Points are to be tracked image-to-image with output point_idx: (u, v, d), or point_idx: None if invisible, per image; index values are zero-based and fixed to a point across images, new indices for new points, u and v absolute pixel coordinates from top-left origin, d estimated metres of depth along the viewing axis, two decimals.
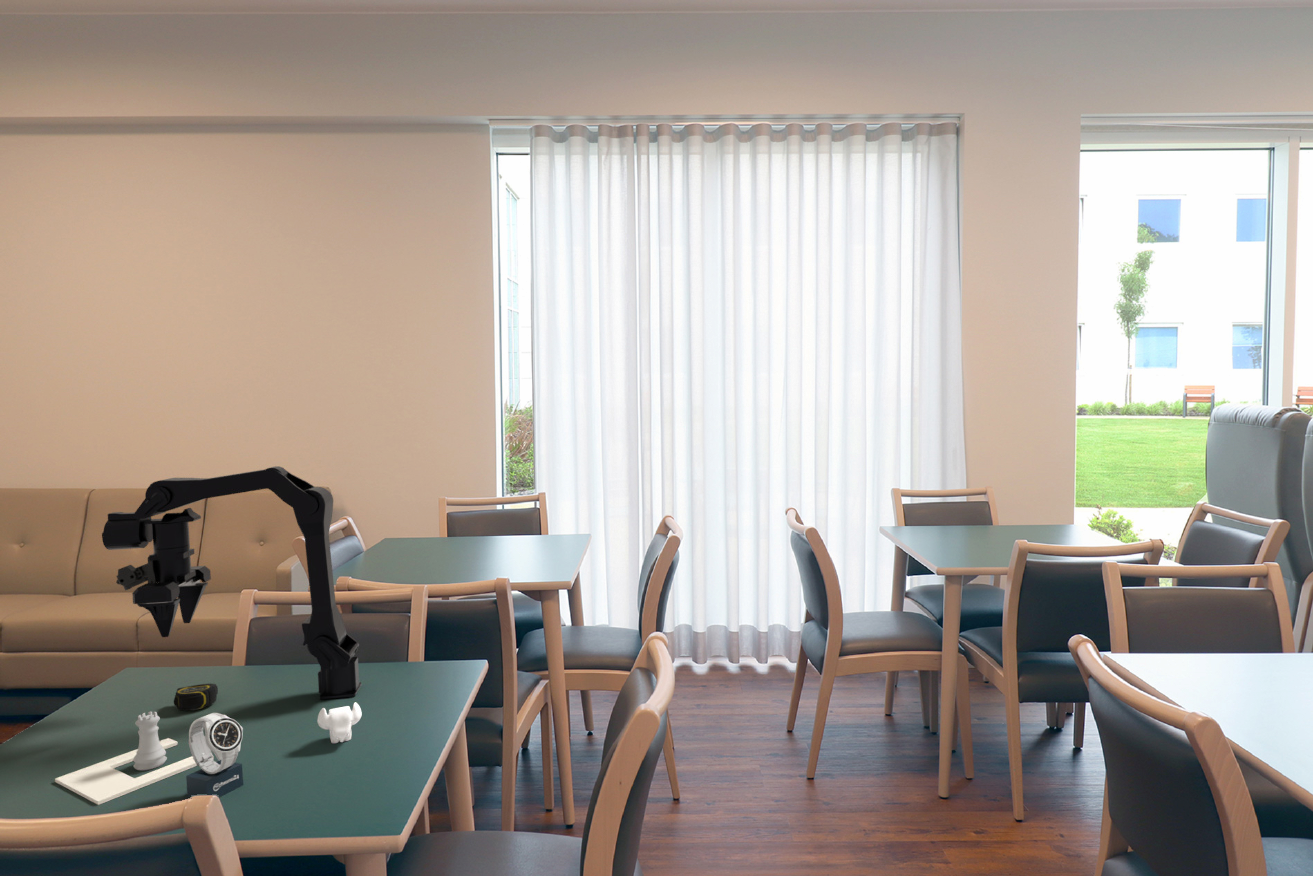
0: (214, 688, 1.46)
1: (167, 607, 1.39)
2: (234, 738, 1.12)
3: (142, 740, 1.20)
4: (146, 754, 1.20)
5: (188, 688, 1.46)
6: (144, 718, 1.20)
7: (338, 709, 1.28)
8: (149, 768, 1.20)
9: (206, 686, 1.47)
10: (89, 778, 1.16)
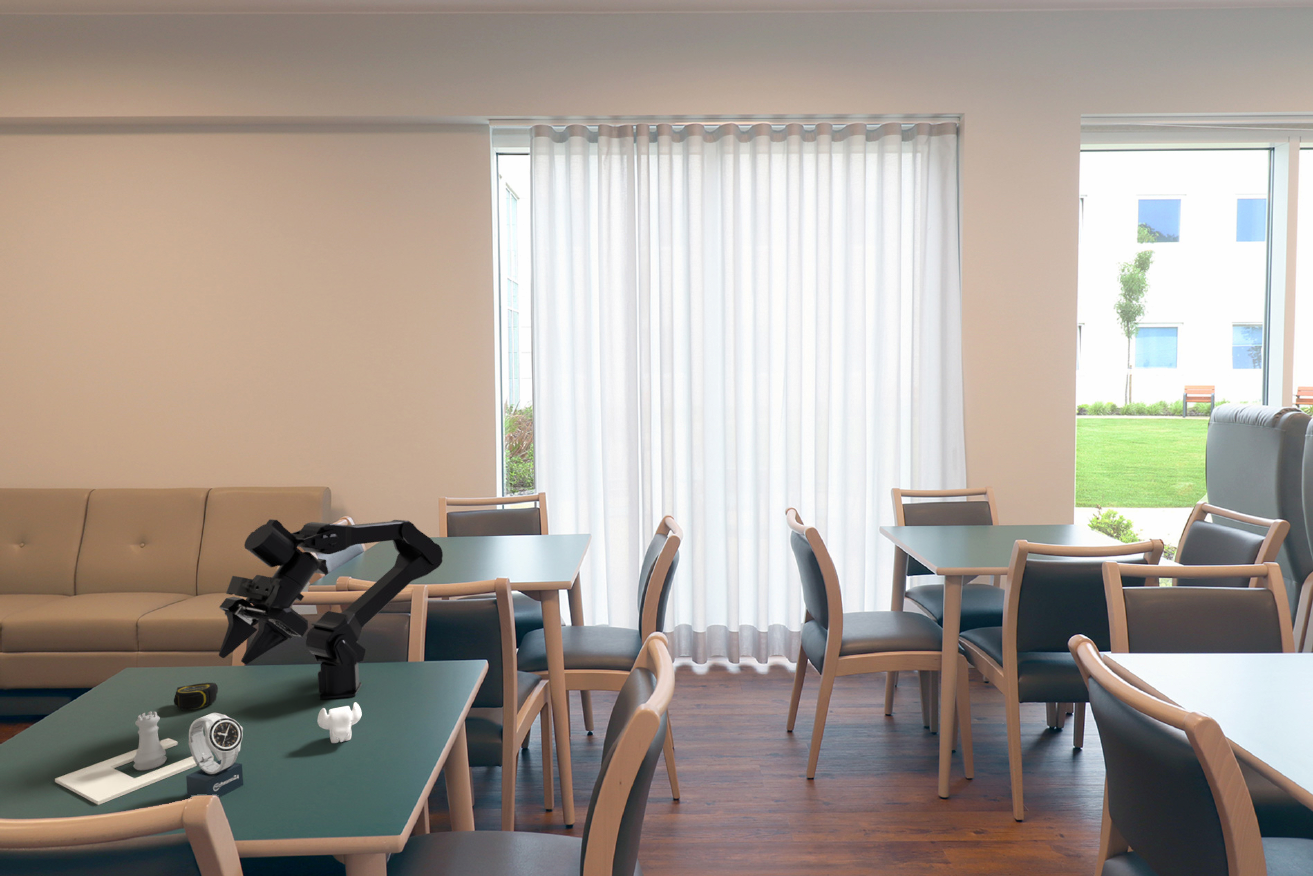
0: (214, 687, 1.47)
1: (275, 637, 1.34)
2: (234, 737, 1.12)
3: (142, 740, 1.20)
4: (146, 754, 1.20)
5: (188, 687, 1.46)
6: (144, 718, 1.20)
7: (338, 709, 1.28)
8: (149, 768, 1.20)
9: (206, 685, 1.47)
10: (89, 778, 1.16)
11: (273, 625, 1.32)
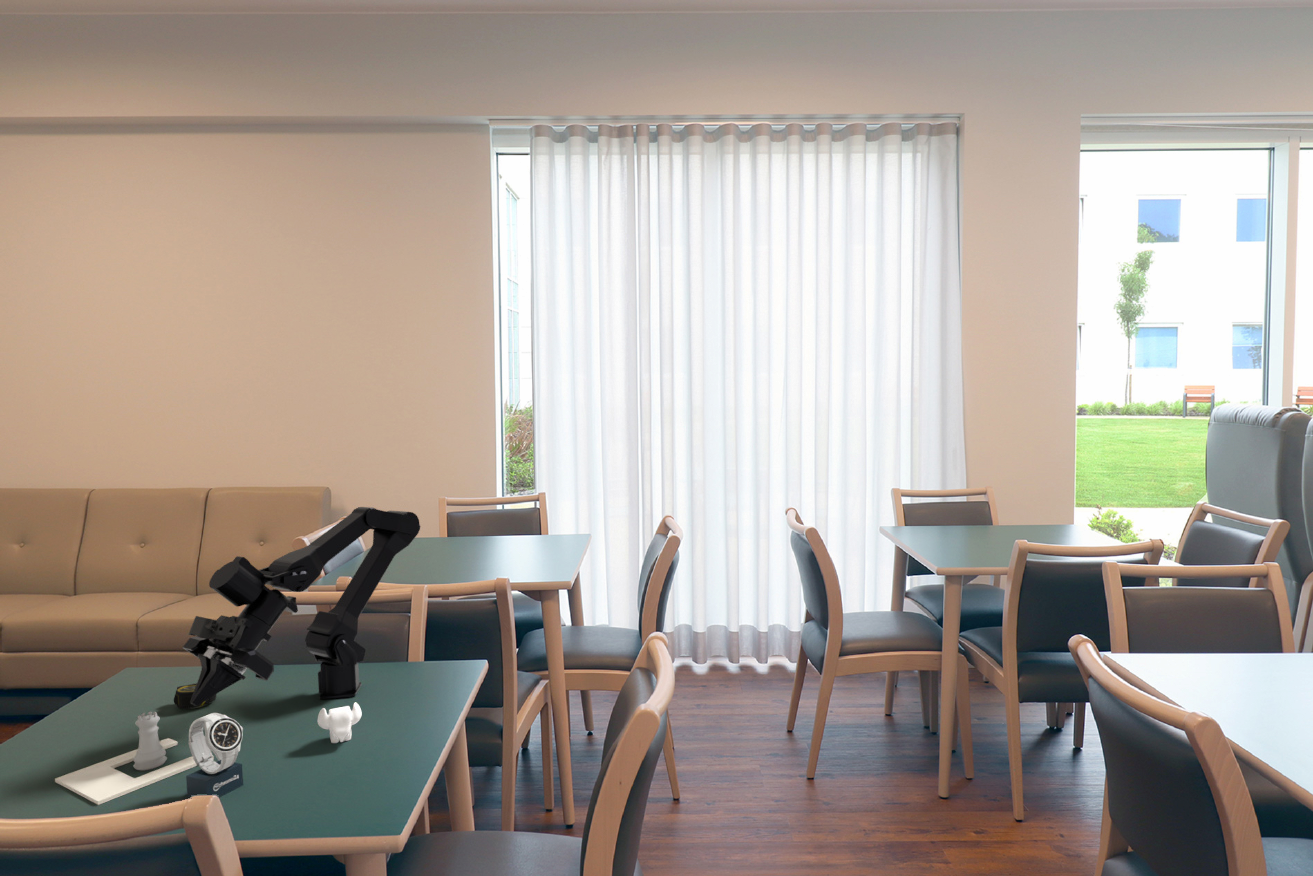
0: None
1: (228, 678, 1.30)
2: (234, 738, 1.12)
3: (142, 740, 1.20)
4: (146, 754, 1.20)
5: (188, 686, 1.47)
6: (144, 718, 1.20)
7: (338, 709, 1.28)
8: (149, 768, 1.20)
9: None
10: (89, 778, 1.16)
11: (225, 665, 1.28)
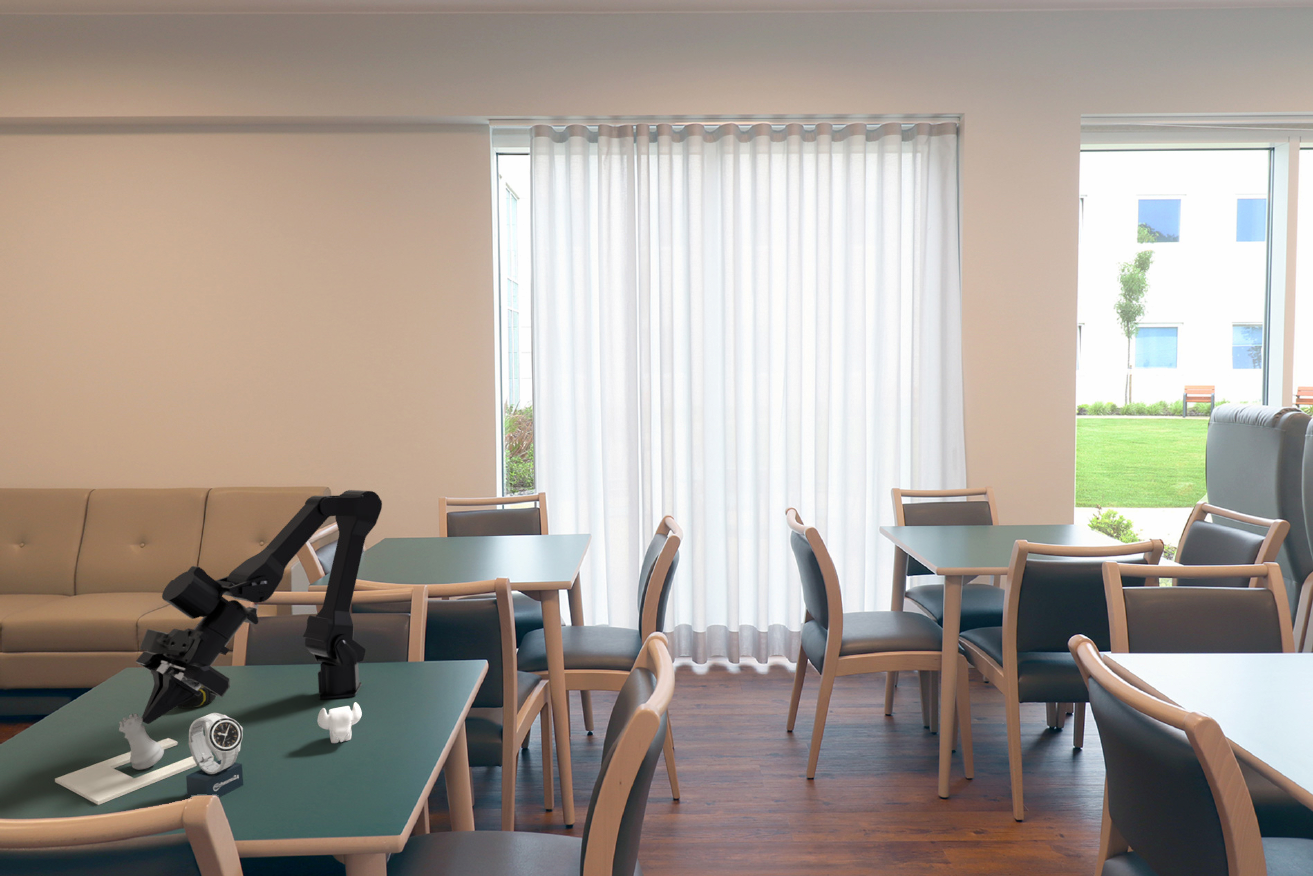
0: None
1: (182, 694, 1.24)
2: (234, 738, 1.12)
3: (132, 743, 1.19)
4: (140, 755, 1.19)
5: None
6: (126, 724, 1.18)
7: (338, 709, 1.28)
8: (148, 766, 1.20)
9: None
10: (89, 778, 1.16)
11: (178, 681, 1.22)
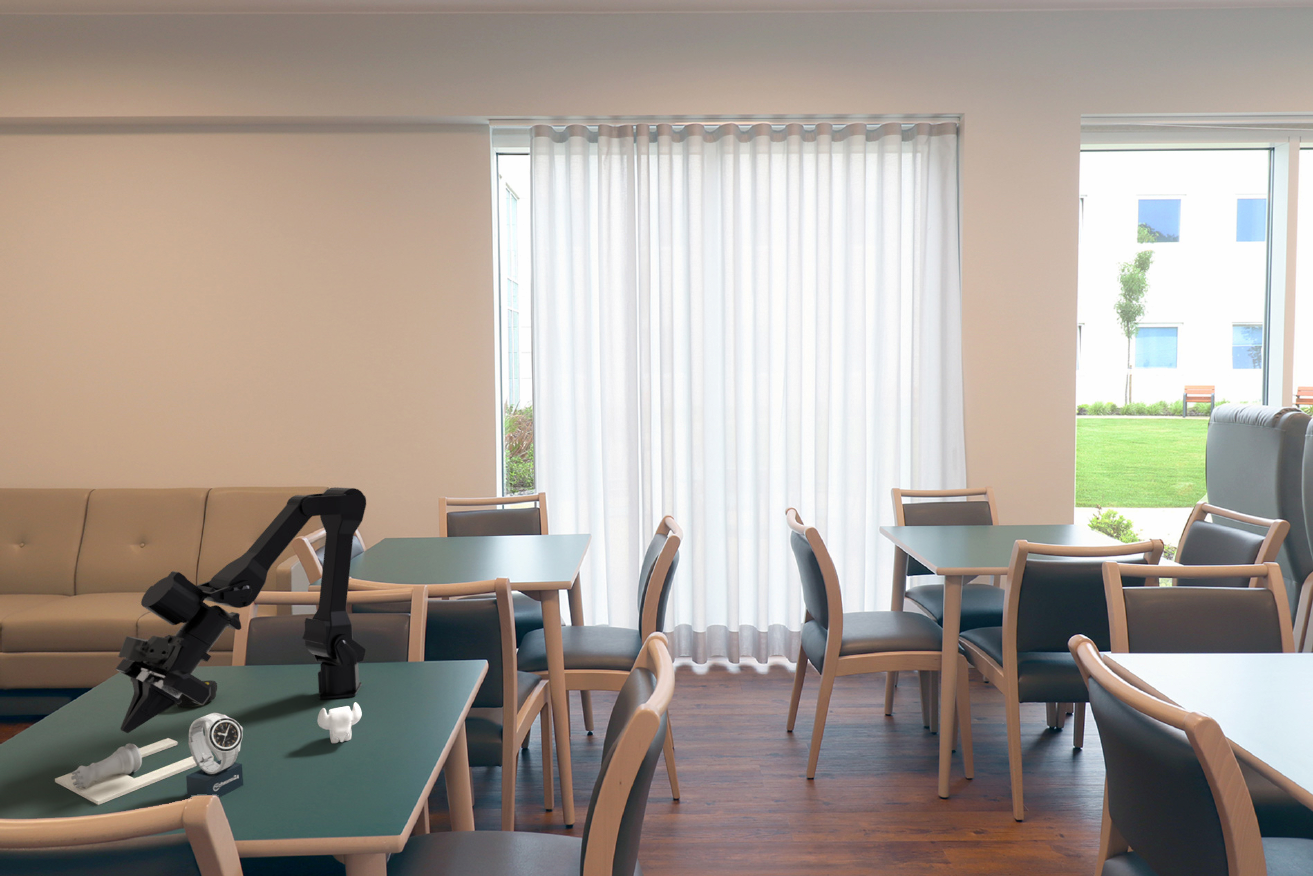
0: (213, 685, 1.48)
1: (163, 702, 1.21)
2: (234, 737, 1.12)
3: (105, 776, 1.16)
4: (123, 771, 1.17)
5: None
6: (80, 786, 1.12)
7: (338, 709, 1.28)
8: (139, 766, 1.19)
9: None
10: None
11: (158, 689, 1.19)
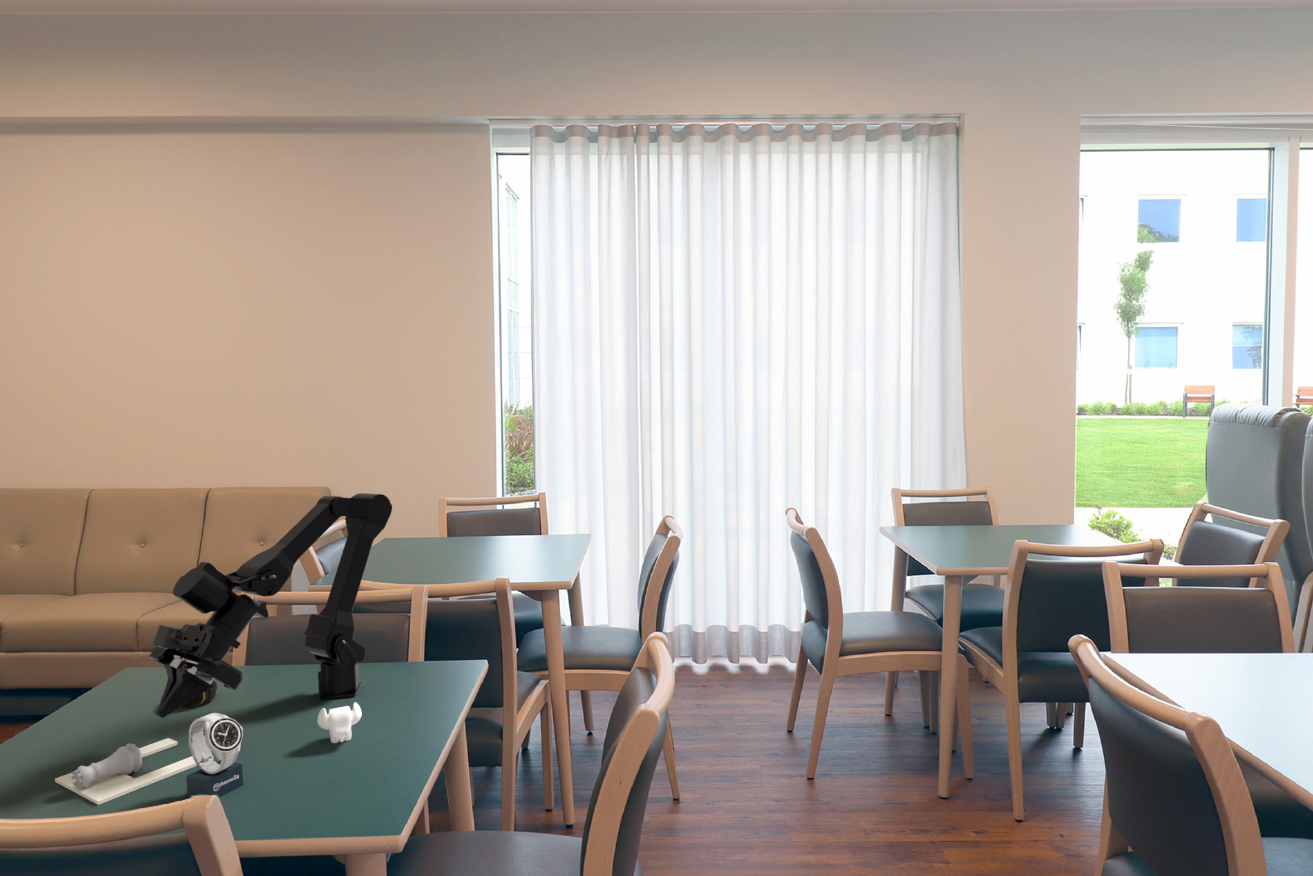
0: (213, 684, 1.48)
1: (196, 688, 1.26)
2: (234, 737, 1.12)
3: None
4: (123, 771, 1.17)
5: None
6: (80, 786, 1.12)
7: (338, 709, 1.28)
8: (140, 766, 1.19)
9: None
10: None
11: (192, 676, 1.23)
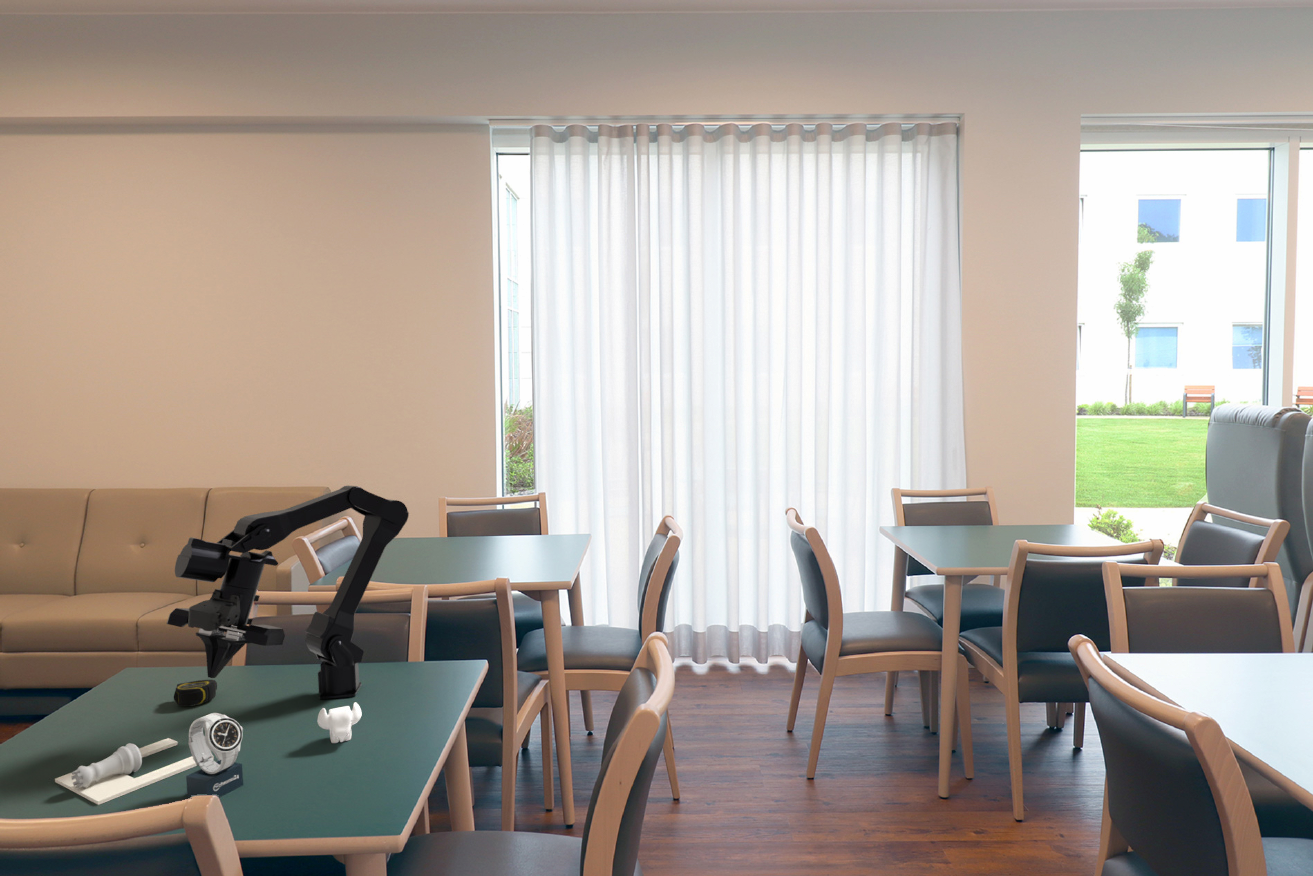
0: (213, 684, 1.48)
1: (236, 646, 1.35)
2: (234, 738, 1.12)
3: (105, 776, 1.16)
4: (123, 771, 1.17)
5: (188, 684, 1.48)
6: (80, 786, 1.12)
7: (338, 709, 1.28)
8: (139, 766, 1.19)
9: (205, 682, 1.49)
10: None
11: (237, 642, 1.33)
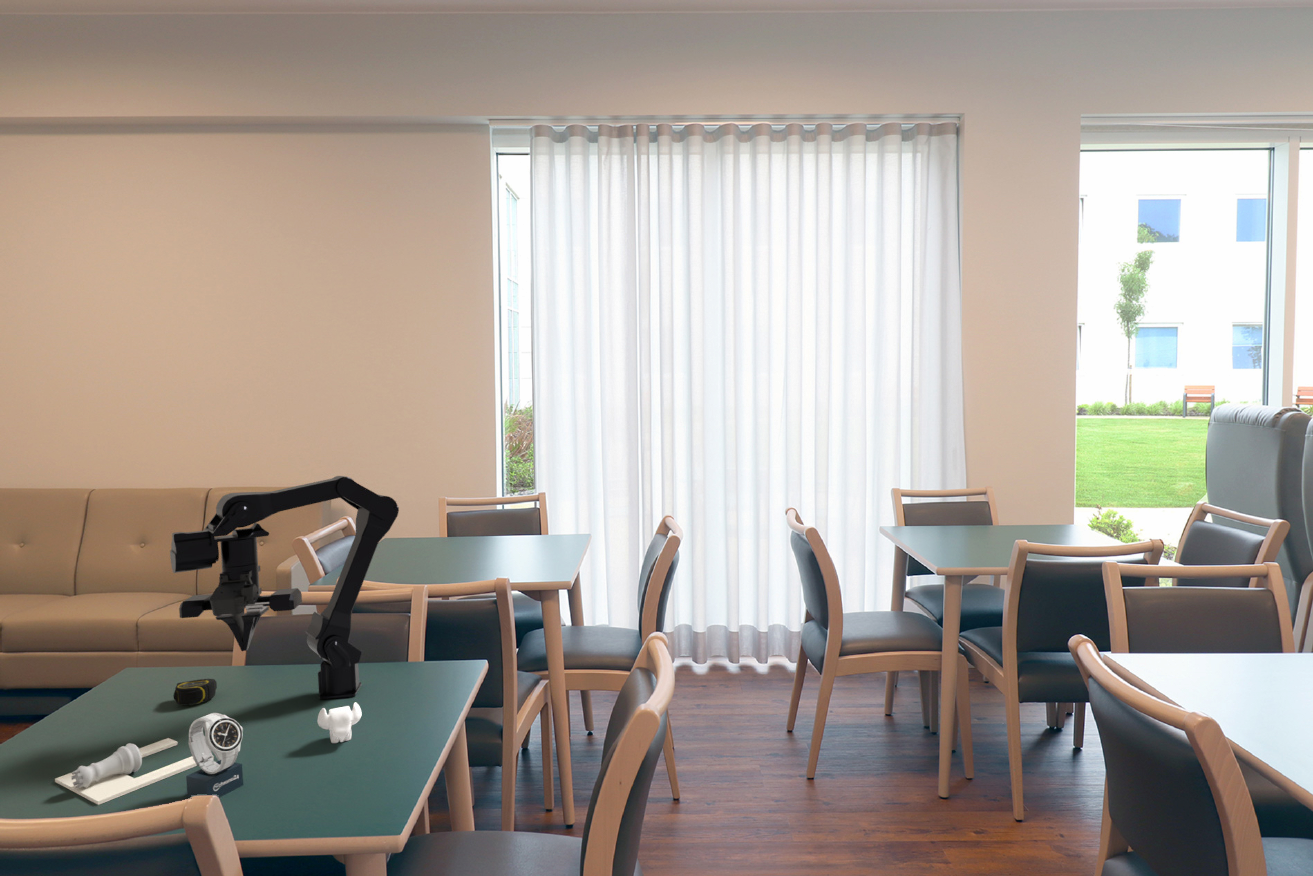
0: (213, 683, 1.49)
1: None
2: (234, 738, 1.12)
3: None
4: (123, 771, 1.17)
5: (187, 683, 1.49)
6: (80, 786, 1.12)
7: (338, 709, 1.28)
8: (140, 766, 1.19)
9: (205, 681, 1.49)
10: None
11: (261, 614, 1.38)
